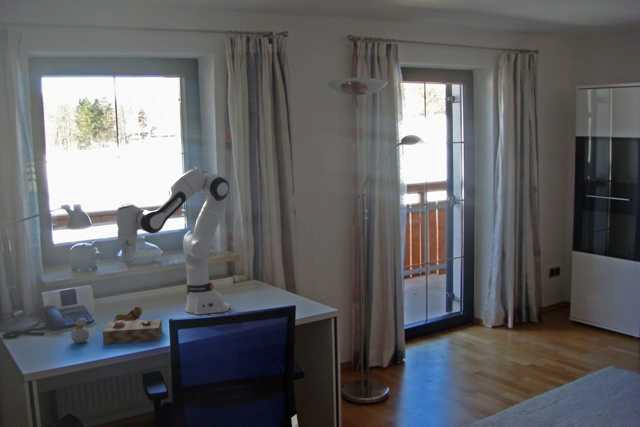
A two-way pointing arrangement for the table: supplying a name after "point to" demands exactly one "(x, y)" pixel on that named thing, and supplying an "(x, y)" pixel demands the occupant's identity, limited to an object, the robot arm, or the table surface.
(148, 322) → the grey button
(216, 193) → the robot arm
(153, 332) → the brown wooden block
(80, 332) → the perfume bottle
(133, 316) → the lion figurine
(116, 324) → the grey rounded cylinder
